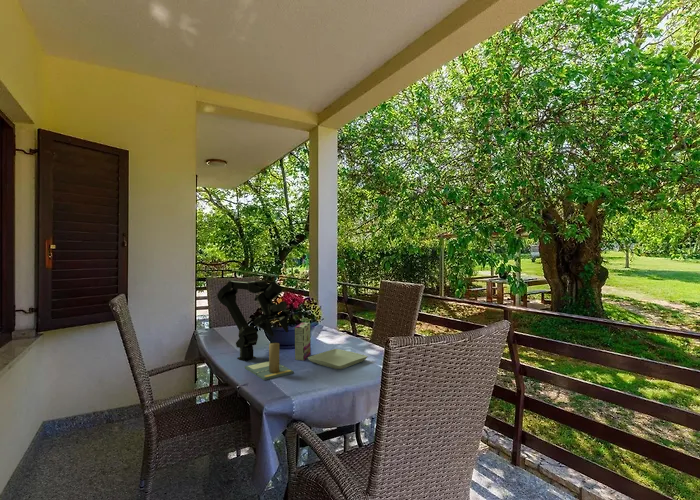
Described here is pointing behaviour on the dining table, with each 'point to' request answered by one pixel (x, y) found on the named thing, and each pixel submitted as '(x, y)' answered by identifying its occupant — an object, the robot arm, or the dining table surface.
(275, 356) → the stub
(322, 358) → the salad plate
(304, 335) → the candy bar box
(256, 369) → the ticket
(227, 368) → the dining table surface
